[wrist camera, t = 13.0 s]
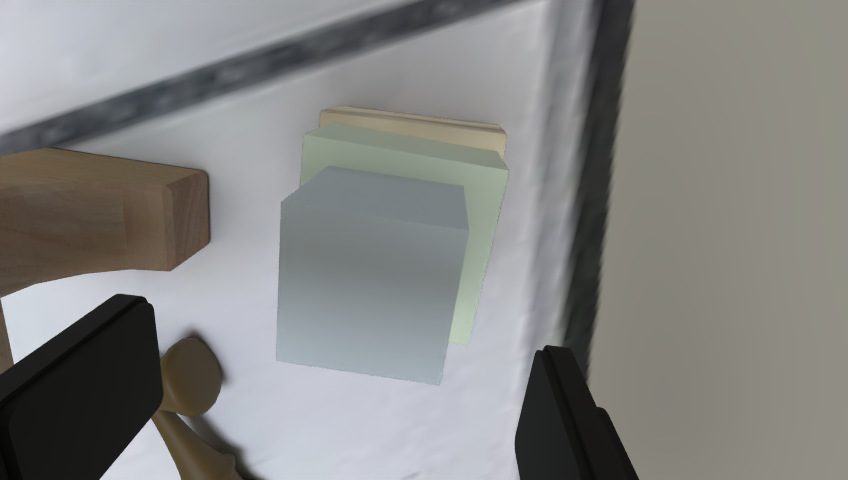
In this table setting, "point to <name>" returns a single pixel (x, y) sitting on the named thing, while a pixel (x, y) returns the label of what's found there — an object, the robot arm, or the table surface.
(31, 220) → the decorative block
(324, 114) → the lower tower block
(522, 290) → the table surface
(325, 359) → the grey-blue cube
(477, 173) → the upper tower block
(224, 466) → the kendama
